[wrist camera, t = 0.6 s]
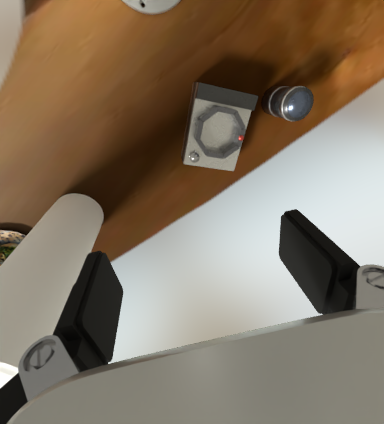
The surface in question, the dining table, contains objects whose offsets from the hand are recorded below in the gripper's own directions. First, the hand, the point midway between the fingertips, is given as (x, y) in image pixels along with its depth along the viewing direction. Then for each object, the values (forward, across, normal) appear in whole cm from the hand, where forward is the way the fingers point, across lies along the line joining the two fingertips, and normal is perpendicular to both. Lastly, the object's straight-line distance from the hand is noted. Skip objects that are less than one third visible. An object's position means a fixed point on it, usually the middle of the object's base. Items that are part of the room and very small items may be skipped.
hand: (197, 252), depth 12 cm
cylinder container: (+32, +21, +12) cm, 40 cm away
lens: (+32, -19, -2) cm, 37 cm away
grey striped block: (+32, -8, 0) cm, 33 cm away
